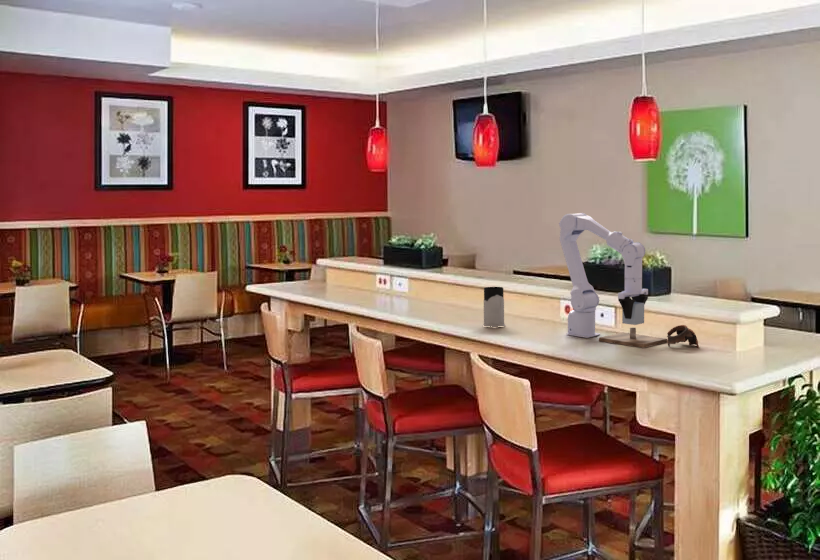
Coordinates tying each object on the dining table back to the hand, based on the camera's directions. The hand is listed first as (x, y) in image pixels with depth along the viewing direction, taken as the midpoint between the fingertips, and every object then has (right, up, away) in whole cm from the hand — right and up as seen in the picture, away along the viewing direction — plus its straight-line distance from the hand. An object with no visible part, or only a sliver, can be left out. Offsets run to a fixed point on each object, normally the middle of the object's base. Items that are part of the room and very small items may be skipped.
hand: (633, 317), depth 297 cm
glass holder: (-45, -5, +40) cm, 60 cm away
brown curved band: (+14, -10, -9) cm, 19 cm away
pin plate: (0, -8, +1) cm, 8 cm away
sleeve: (0, -2, 0) cm, 2 cm away
